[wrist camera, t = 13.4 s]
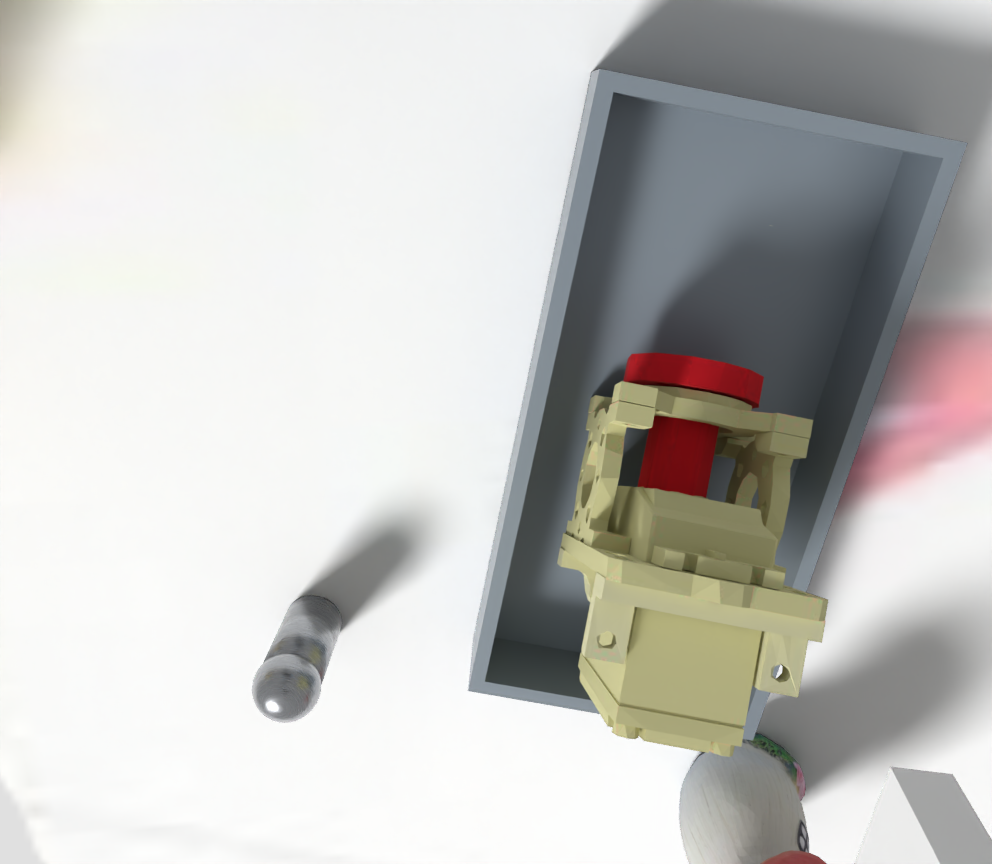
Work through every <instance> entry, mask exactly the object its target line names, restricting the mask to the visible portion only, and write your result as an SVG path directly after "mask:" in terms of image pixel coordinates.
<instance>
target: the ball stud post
mask: <svg viewBox="0 0 992 864" xmlns="http://www.w3.org/2000/svg"><path fill="white" fill-rule="evenodd" d="M341 626H342V618H341V614H340V612H339V610H338V609H337V607H336V606H335V605H334V604H333V603H331V602H330V601H329V600H327V599H325V598H322V597H318V596H305V597H302V598H299V599H297V600H296V601H294V602H293V603H292V604H291V606H290V607H289V609H288V611H287V613H286V615H285V617H284V620H283V622H282V624H281V626H280V628H279V630H278V632H277V635H276V637H275V639H274V641H273V643H272V645H271V648H270V650H269V652H268V654H267V656H266V658H265V660H264V663H263V664H262V666H261V667H260V668H259V669H258V671H257V673H256V675H255V678H254V681H253V686H252V693H253V699H254V702H255V704H256V706H257V708H258V709H259V711H260V712H261V713H262V714H263V715H264V716H266V717H267V718H269V719H271V720H274V721H277V722H292V721H296V720H299V719H301V718H302V717H304V716H306V715H307V714H308V713H309V712H310V711H311V710H312V709H313V708H314V706H315V705H316V703H317V701H318V699H319V696H320V692H321V684H322V681H323V679H324V676H325V673H326V670H327V667H328V664H329V661H330V658H331V656H332V653H333V650H334V647H335V644H336V641H337V638H338V635H339V633H340V630H341Z"/></svg>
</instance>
